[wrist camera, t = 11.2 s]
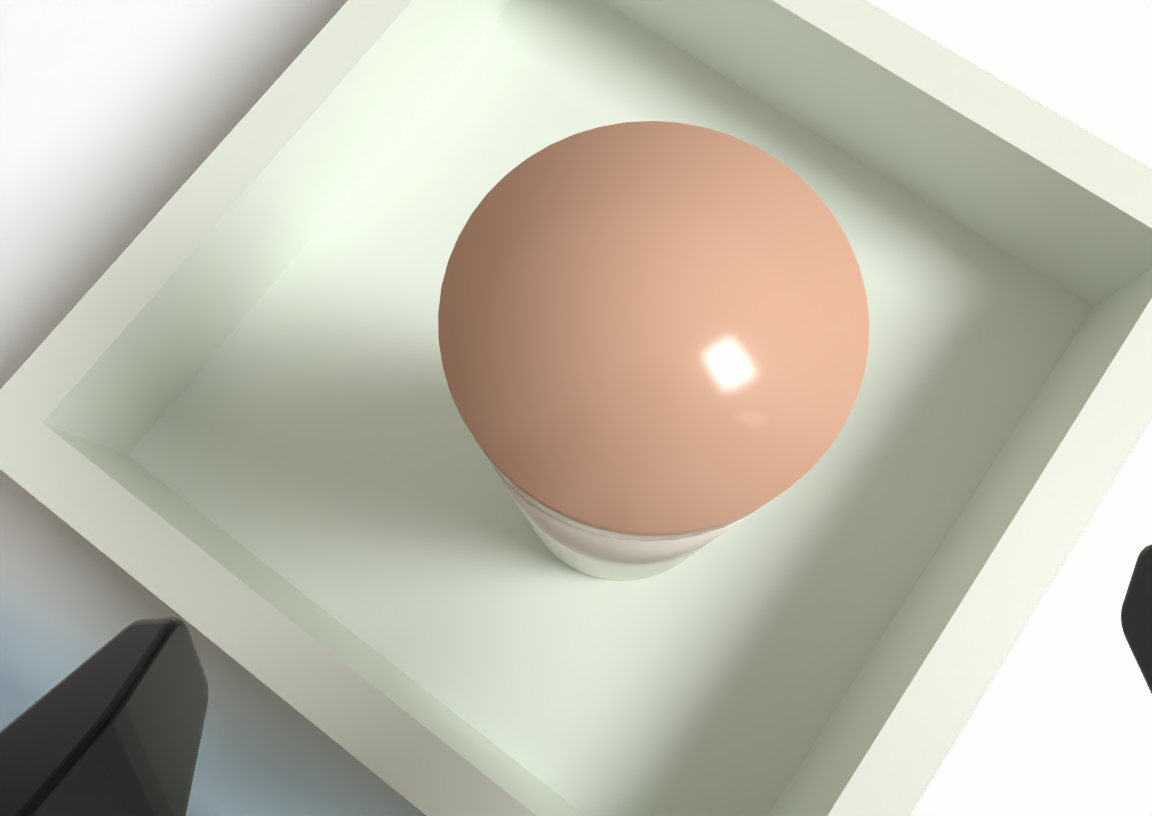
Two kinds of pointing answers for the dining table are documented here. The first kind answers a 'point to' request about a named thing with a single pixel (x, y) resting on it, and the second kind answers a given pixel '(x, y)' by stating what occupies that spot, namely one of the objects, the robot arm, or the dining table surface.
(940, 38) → the dining table surface
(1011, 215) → the bin
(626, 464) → the jar
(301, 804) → the dining table surface
